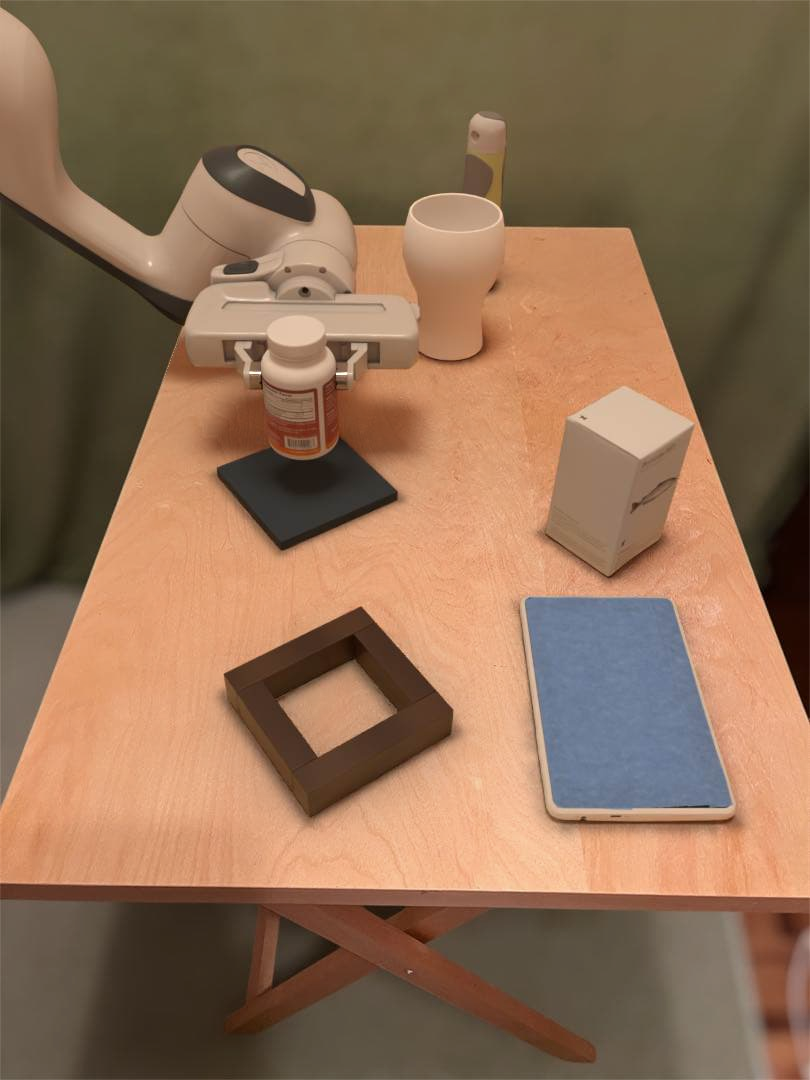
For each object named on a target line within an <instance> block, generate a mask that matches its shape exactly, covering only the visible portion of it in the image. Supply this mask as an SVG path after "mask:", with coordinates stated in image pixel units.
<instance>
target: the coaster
mask: <svg viewBox="0 0 810 1080" xmlns="http://www.w3.org/2000/svg"><path fill="white" fill-rule="evenodd" d="M216 475H217V477H218V478H219V479H220V481H222V483H223V484H224V485H225V486H226V488H228V490H229V491H230V492H231V493H232V494H233V495H234V497H235V498H236V499H237V500H238V501H239V502H240V504H242V506H243V507H244V508H245V509H246V511H247V513H249V514H250V515H251V517H252V518H253V519H254V520H255V521H256V522H257V524H259V525H260V527H261V528H262V529H263V530H264V531H265V533H266V534H267V535H268V536H269V538H271V540H272V541H273V542H274V544H276V545H277V547H278V548H279V549H280V550H281V551H285V550H286V549H287V548H290V547H292V546H295V545H297V544H299V543H302V542H304V541H306V540H308V539H311V538H313V537H316V536H317V535H320V534H323V533H325V532H327V531H329V530H331V529H333V528H336V527H338V526H341V525H342V524H345V523H347V522H349V521H353V520H354V519H356V518H359V517H361V516H363V515H365V514H367V513H370V512H372V511H374V510H376V509H379V508H381V507H384V506H386V505H388V504H391V503H393V502H395V501H397V500H398V498H399V497H398V495H399V493H398V490H397V489H396V488H395V487H394V486H392V484H391V483H389V481H388V480H387V479H386V478H384V477H383V476H382V475H381V474H380V473H379V472H378V471H377V470H376V469H375V468H374V467H373V466H372V465H370V464H369V463H368V462H367V461H366V459H364V458H363V457H362V456H361V455H360V454H359V453H358V452H357V450H355V449H354V448H353V447H352V446H351V445H350V444H348V442H347V441H345V439H343V438H342V436H340V435H339V438H338V441H337V443H336V445H335V446H334V448H333V449H332V450H331V451H329V452H328V453H327V454H325V455H323V456H321V457H318V458H315V459H310V460H296V459H290V458H287V457H284V456H282V455H280V454H279V453H277V452H276V451H275V450H274V449H273V448H272V447H271V446H269V447H267V448H264V449H261V450H259V451H256V452H253V453H250V454H248V455H245V456H243V457H241V458H238V459H235V460H233V461H232V460H231V461H230V462H227V463H225V464H222V465H220V466H217V467H216Z"/></svg>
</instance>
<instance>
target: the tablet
mask: <svg viewBox="0 0 810 1080" xmlns="http://www.w3.org/2000/svg"><path fill="white" fill-rule="evenodd" d="M518 609H519V616H520V623H521V630H522V637H523V644H524V645H523V646H524V651H525V653H524V654H525V659H526V666H527V674H528V682H529V689H530V690H529V691H530V696H531V703H532V712H533V718H534V725H535V726H534V727H535V739H536V744H537V754H538V761H539V762H540V776H541V781H542V786H543V794H544V795H543V796H544V802H545V808H546V810H547V812H548V813H549V815H550V816H551V817H553V818H555V819H557V820H563V821H580V820H582V819H584V820H585V821H588V822H590V821H591V822H595V821H596V822H702V821H704V822H705V821H706V822H707V821H726V820H729V819H731V818H732V817H734V815H735V814H736V811H737V801H736V798H735V795H734V791H733V788H732V784H731V782H730V781H731V780H730V779H729V775H728V772H727V769H726V765H725V762H724V759H723V755H722V752H721V748H720V745H719V742H718V739H717V736H716V732H715V729H714V726H713V723H712V720H711V715H710V712H709V709H708V705H707V703H706V699H705V696H704V693H703V689H702V686H701V683H700V680H699V677H698V673H697V669H696V666H695V663H694V660H693V656H692V654H691V653H692V652H691V649H690V647H689V643H688V641H687V638H686V637H687V636H686V634H685V631H684V627H683V624H682V621H681V618H680V613H679V611H678V607H677V604H676V603H675V601H674V600H673V599H671V598H670V597H667V596H660V595H659V596H657V595H655V596H646V595H645V596H644V595H642V596H641V595H640V596H639V595H637V596H635V595H617V596H616V595H615V596H614V595H527V596H525V597H523V598H522V599H521V600H520V601H519V605H518Z"/></svg>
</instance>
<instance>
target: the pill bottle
mask: <svg viewBox="0 0 810 1080" xmlns="http://www.w3.org/2000/svg"><path fill="white" fill-rule="evenodd" d="M267 343H268V350H267V351H266V352H265V354H264V356H263V358H262V360H261V376H262V384H263V390H262V392H263V400H264V409H265V420H266V429H267V430H266V431H267V437H268V443H269V445H270V447H272V448H273V449H274V450H275V451H276V452H277V453H279V454H280V455H282V456H284V457H287V458H290V459H296V460H310V459H315V458H318V457H321V456H323V455H325V454H327V453H328V452H329V451H331V450H332V449H333V448H334V446H335V445H336V443H337V441H338V438H339V436H340V425H339V421H340V420H339V406H338V405H339V404H338V403H339V402H338V390H336V362H335V358H334V355H333V353H332V352H331V351H330V349H329V348H328V347H326V343H327V340H326V330H325V327H324V325H323V324H322V323H321V322H320V321H319V320H317V319H315V318H312V317H309V316H302V315H295V316H287V317H283V318H280V319H278V320H276V321H274V322H273V323H271V324H270V326H269V327H268V329H267Z"/></svg>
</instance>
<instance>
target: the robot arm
mask: <svg viewBox="0 0 810 1080" xmlns="http://www.w3.org/2000/svg"><path fill="white" fill-rule="evenodd" d="M58 98H59V97H58V89H57V84H56V78H55V74H54V71H53V68H52V64H51V62H50V60H49V58H48V56H47V54H46V52H45V50H44V47H43V46H42V45H41V43H40V41H39V40H38V38H37V37H36V36H35V34H34V33H33V31H31V29H30V28H29V27H27V25H25V24H24V23H23V22H22V21H20V20H19V19H18V18H17V17H16V16H14V15H13V14H11V13H10V12H9V11H7V10H6V9H4V8H2V7H1V6H0V203H1V204H2V205H3V206H5V207H7V208H8V209H9V210H10V211H12V212H13V213H15V214H16V215H17V216H19V217H20V218H22V219H23V220H25V221H26V222H28V224H30V225H32V226H33V227H35V228H36V229H38V230H40V231H41V232H43V233H44V234H46V235H47V236H49V237H50V238H52V239H53V240H55V241H56V242H58V243H60V244H61V245H63V246H65V247H66V248H68V249H69V250H71V251H72V252H74V253H75V254H77V255H78V256H80V257H82V258H83V259H85V260H86V261H88V262H90V263H91V264H93V265H94V266H96V267H97V268H99V269H101V270H102V271H104V272H105V273H107V274H109V275H110V276H111V277H113V278H115V279H116V280H118V281H120V282H121V283H123V284H124V285H126V286H127V287H128V288H130V289H132V290H133V291H134V292H135V293H137V294H138V295H139V296H141V298H143V299H144V300H145V301H146V302H147V303H149V304H150V305H151V306H152V307H153V308H154V309H155V310H157V311H158V312H159V313H161V314H162V315H163V316H165V317H166V318H167V319H169V320H170V321H172V322H174V323H175V324H177V325H179V326H182V327H183V337H184V338H183V339H184V346H185V352H186V356H187V359H188V361H189V362H190V364H192V365H194V366H195V367H197V368H236V371H237V372H238V374H240V375H241V376H242V378H243V387H244V390H245V391H259V390H260V391H263V384H262V376H261V360H262V358H263V356H264V354H265V352H266V351H267V350H268V343H267V329H268V327H269V326H270V324H271V323H273V322H274V321H276V320H278V319H280V318H283V317H287V316H295V315H302V316H309V317H312V318H315V319H317V320H319V321H320V322H321V323H322V324H323V325H324V327H325V330H326V340H327V343H326V347H328V348H329V349H330V351H331V352H332V353H333V355H334V358H335V362H336V390H337V391H347V392H355V382H356V381H357V380H359V379H360V378H361V377H362V376H363V375H365V374H366V373H367V372H368V370H409V369H411V368H412V367H413V366H416V364H417V363H418V361H419V352H420V351H419V329H418V324H419V322H420V320H421V311H420V308H419V306H418V303H414V302H410V301H409V300H408V299H407V298H405V297H404V296H401V295H398V294H397V295H396V294H390V293H389V294H387V293H386V294H385V293H357V276H356V274H357V269H358V254H359V253H358V250H359V249H358V238H357V234H356V233H357V232H356V229H355V226H354V223H353V221H352V219H351V217H350V215H349V213H348V211H347V210H346V208H345V207H344V206H343V205H342V203H341V202H340V201H339V200H338V199H336V198H335V197H334V196H332V195H331V194H330V193H327V192H325V191H324V190H323V191H322V190H319V189H314V188H311V187H310V186H309V184H308V183H307V181H306V180H305V179H304V177H302V175H300V173H298V172H297V171H296V170H295V169H294V168H293V167H292V166H291V165H289V164H288V163H287V162H285V161H283V160H282V159H281V158H279V157H278V156H276V155H274V154H272V153H271V152H269V151H267V150H265V149H263V148H261V147H259V146H255V145H250V144H223V145H217V146H214V147H211V148H208V149H207V150H205V151H204V152H203V153H202V156H201V158H200V159H199V161H198V162H197V164H196V166H195V168H194V170H193V171H192V173H191V174H190V176H189V179H188V181H187V183H186V184H185V186H184V188H183V189H182V191H181V195H180V197H179V199H178V201H177V203H176V205H175V206H174V209H173V210H172V212H171V214H170V216H169V218H168V220H167V221H166V223H165V225H164V227H163V229H162V230H161V232H160V233H158V234H156V235H148V234H145V233H144V232H142V231H141V230H139V229H138V228H136V227H135V226H133V225H131V224H130V223H129V222H128V221H126V220H125V219H123V218H121V216H119V215H117V214H116V213H114V212H112V211H111V210H110V209H108V208H107V207H106V206H104V205H102V204H101V203H100V202H98V201H97V200H95V199H94V198H92V197H91V196H89V195H88V194H86V193H85V192H83V190H81V189H80V188H79V187H78V186H77V185H76V184H75V183H74V182H73V180H72V179H71V177H70V176H69V174H68V173H67V171H66V168H65V166H64V163H63V161H62V157H61V156H62V155H61V150H60V140H59V139H60V137H59V99H58Z"/></svg>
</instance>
